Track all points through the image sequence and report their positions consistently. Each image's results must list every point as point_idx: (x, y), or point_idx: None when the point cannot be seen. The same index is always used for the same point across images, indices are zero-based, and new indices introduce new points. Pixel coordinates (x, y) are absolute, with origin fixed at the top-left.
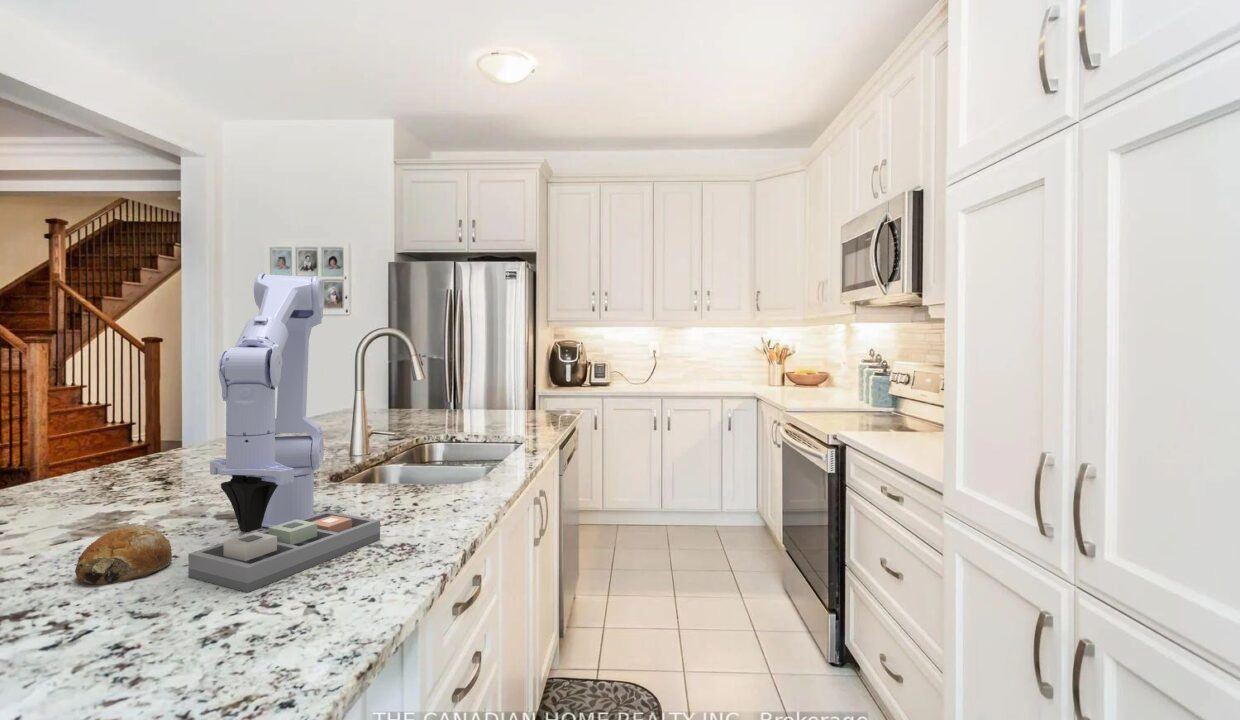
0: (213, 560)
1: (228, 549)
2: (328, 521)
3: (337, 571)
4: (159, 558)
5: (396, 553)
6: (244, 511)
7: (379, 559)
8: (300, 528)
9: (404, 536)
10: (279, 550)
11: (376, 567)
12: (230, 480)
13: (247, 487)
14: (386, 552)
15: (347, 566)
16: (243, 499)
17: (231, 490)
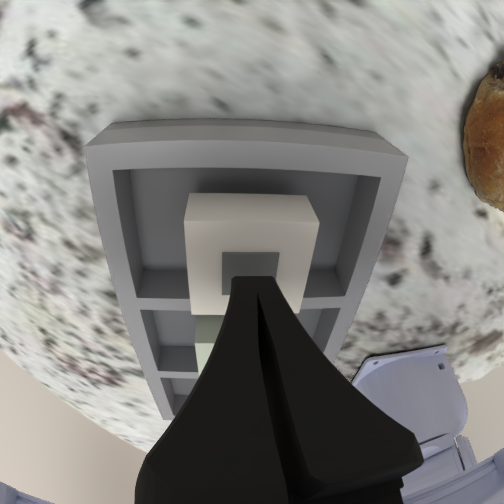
0: (274, 140)
1: (285, 208)
2: None
3: (71, 284)
4: (478, 151)
5: (81, 359)
6: (220, 346)
7: (74, 339)
8: (198, 363)
9: (146, 399)
10: None
11: (42, 316)
12: (401, 479)
13: (135, 489)
14: (97, 359)
15: (82, 305)
16: (199, 408)
17: (304, 450)
